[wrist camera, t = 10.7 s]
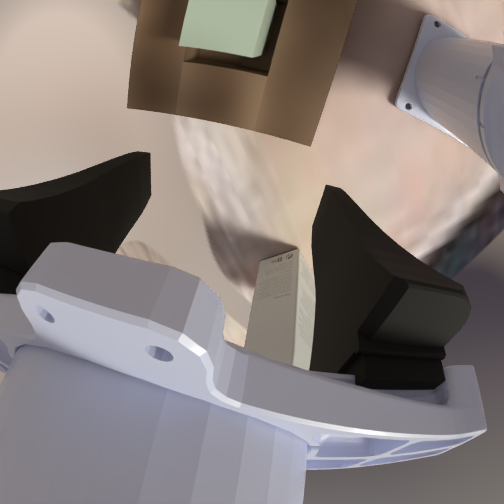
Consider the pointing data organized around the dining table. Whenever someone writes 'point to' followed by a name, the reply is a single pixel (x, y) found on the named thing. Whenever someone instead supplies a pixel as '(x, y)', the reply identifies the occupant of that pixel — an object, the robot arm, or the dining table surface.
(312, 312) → the skincare box
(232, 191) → the dining table surface
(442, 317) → the robot arm
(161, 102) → the walnut socket block
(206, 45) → the sage peg
